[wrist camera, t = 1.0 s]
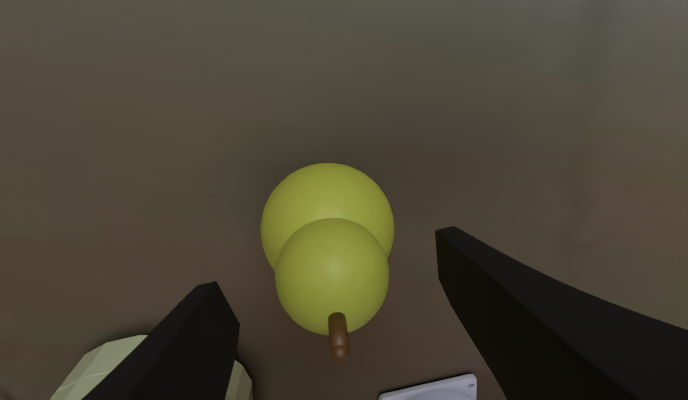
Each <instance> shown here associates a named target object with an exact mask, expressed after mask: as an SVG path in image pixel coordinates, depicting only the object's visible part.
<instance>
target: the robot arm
mask: <svg viewBox="0 0 688 400" xmlns="http://www.w3.org/2000/svg"><path fill="white" fill-rule="evenodd" d="M435 235H436V249H437V264H438V278H439V280H440V283H441V285H442V287H443V289H444V291H445V294H446V296H447V298H448V300H449V302H450V304H451V306H452V308H453V310H454V311H455V313H456V315H457V316H458V318H459V320H460V321H461V323H462V324H463V326H464V328H465V329H466V331H467V333H468V334H469V336H470V337H471V339H472V341H473V342H474V344H475V346H476V347H477V349H478V350H479V352H480V354H481V355H482V357H483V358H484V360H485V362H486V363H487V365H488V367H489V368H490V370H491V371H492V373H493V375H494V376H495V378H496V380H497V382H498V383H499V385H500V387H501V389H502V390H503V392H504V394H505V396H506V398H507V400H688V330H686V329H683V328H680V327H677V326H674V325H671V324H668V323H665V322H663V321H660V320H657V319H654V318H651V317H648V316H645V315H642V314H640V313H637V312H634V311H631V310H629V309H626V308H623V307H621V306H618V305H615V304H613V303H610V302H608V301H605V300H603V299H600V298H598V297H595V296H593V295H590V294H588V293H586V292H583V291H581V290H578V289H576V288H574V287H571V286H569V285H567V284H564V283H562V282H560V281H558V280H556V279H553V278H551V277H549V276H547V275H545V274H543V273H541V272H539V271H537V270H534V269H532V268H530V267H528V266H526V265H524V264H522V263H520V262H519V261H517V260H515V259H513V258H511V257H509V256H507V255H505V254H503V253H501V252H500V251H498V250H496V249H494V248H492V247H491V246H489V245H487V244H485V243H483V242H482V241H480V240H478V239H476V238H475V237H473V236H471V235H469V234H467V233H466V232H464V231H462V230H460V229H458V228H457V227H455V226H452V227H448V228H443V229H439V230H435ZM239 327H240V324H239V322H238V320H237V318H236V316H235V314H234V313H233V311H232V309H231V307H230V305H229V304H228V302H227V300H226V298H225V296H224V294H223V293H222V291H221V289H220V287H219V285H218V284H217V282H216V281H215V282H210V283H206V284H202V285H198V286H197V287H195V288H194V289H193V290H192V291H191V292H190V293H189V294H188V295H187V296H186V297H185V298H184V299H183V300H182V301H181V302H180V303H179V304H178V305H177V306H176V307H175V308H174V309H173V310H172V311H171V312H170V313H169V314H168V315H167V316H166V317H165V318H164V319H163V320H162V321H161V322H160V323H159V324H158V325H157V326H156V327H155V328H154V329H153V330H152V332H151V333H150V334H149V335H148V336H147V337H146V338H145V339H144V340H143V341H142V342H141V343H140V344H139V345H138V346H137V347H136V348H135V349H134V350H133V351H132V352H131V353H130V354H129V355H128V356H126V357H125V358H124V359H123V360H122V361H121V362H120V363H119V364H118V365H117V366H116V367H115V368H114V369H113V370H112V371H111V372H110V373H109V374H108V375H107V376H106V377H105V378H104V379H103V380H102V381H101V382H100V383H99V384H97V385H96V386H95V387H94V388H93V389H92V390H91V391H90V392H89V393H88V394H87V395H85V396H84V397H83V398H82V399H81V400H225V397H226V393H227V389H228V386H229V382H230V378H231V374H232V370H233V366H234V362H235V358H236V351H237V344H238V336H239ZM476 395H477V380H476V377H475V375H473V374H466V375H462V376H457V377H453V378H448V379H444V380H440V381H435V382H431V383H427V384H422V385H418V386H414V387H409V388H405V389H401V390H396V391H392V392H388V393H383V394H381V395H380V396H379V400H476Z"/></svg>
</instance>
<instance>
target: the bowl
mask: <svg viewBox="0 0 688 400" xmlns="http://www.w3.org/2000/svg"><path fill="white" fill-rule="evenodd" d="M147 336H148V335H137V336H132V337H128V338H124V339H119V340H115V341H111V342H106V343H105V344H103V345H101V346H99V347H97V348H96V349H94V350H92V351H90V352H88V353H86V354H85V355H84V356H83V357H82V359H81V360H80V361H79V363H78V364H77V365H76V367H75V368H74V369H73V370H72V372H71V373H70V374H69V376H68V377H67V378H66V379H65V381H64V382H63V383H62V385H61V386H60V387H59V388H58V390H57V391H56V392H55V394H54V395H53V396H52V397H51V399H50V400H81V399H82V398H83V397H84V396H85V395H87V394H88V393H89V392H90V391H91V390H92V389H93V388H94V387H95V386H96V385H97V384H99V383H100V382H101V381H102V380H103V379H104V378H105V377H106V376H107V375H108V374H109V373H110V372H111V371H112V370H113V369H114V368H115V367H116V366H117V365H118V364H119V363H120V362H121V361H122V360H123V359H124V358H125V357H126V356H128V355H129V354H130V353H131V352H132V351H133V350H134V349H135V348H136V347H137V346H138V345H139V344H140V343H141V342H142V341H143V340H144V339H145V338H146V337H147ZM252 398H253V393H252V380H251V379H250V377H249V375H248V374H247V372H246V370H245V369H244V367H243V366H242V365H241V364H240V363H239V362H237V361H236V360H235V362H234V366H233V370H232V374H231V378H230V382H229V386H228V389H227V393H226V397H225V400H252Z"/></svg>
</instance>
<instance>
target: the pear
mask: <svg viewBox="0 0 688 400" xmlns="http://www.w3.org/2000/svg"><path fill="white" fill-rule="evenodd" d="M393 239H394V220H393V215H392V210H391V208H390V205H389V203H388V200H387V198H386V196H385V195H384V193H383V192H382V190H381V189H380V188H379V186H378V185H377V184H376V183H375V182H374V181H373V180H372V179H371V178H369V177H368V176H367V175H365V174H364V173H362V172H361V171H359V170H357V169H355V168H352V167H350V166H347V165H342V164H337V163H319V164H313V165H309V166H306V167H303V168H301V169H299V170H297V171H295V172H293V173H292V174H290V175H289V176H287V177H286V178H285V179H284V180H283V181H282V182H281V183H280V184H279V185H278V186H277V187H276V188H275V189H274V191H273V192H272V193H271V195H270V197H269V199H268V201H267V203H266V205H265V208H264V211H263V214H262V220H261V241H262V246H263V249H264V252H265V255H266V258H267V260H268V262H269V264H270V265H271V267H272V268H273V270H274V271H275V284H276V291H277V294H278V297H279V300H280V302H281V304H282V306H283V308H284V310H285V311H286V312H287V314H288V315H289V316H290V317H291V318H292V319H293V320H294V321H295V322H296V323H297V324H298V325H300V326H301V327H303V328H305V329H306V330H309V331H311V332H314V333H317V334H322V335H329V347H330V356H331V358H332V360H333V361H334V362H336V363H339V364H341V363H344V362H346V361H347V360H348V358H349V356H350V347H349V339H348V333H349V332H352V331H354V330H356V329H358V328H360V327H362V326H363V325H365V324H366V323H367V322H369V321H370V320H371V319H372V318H373V317H374V316H375V314H376V313H377V312H378V310H379V309H380V307H381V305H382V304H383V302H384V299H385V297H386V294H387V290H388V285H389V267H388V262H387V259H388V256H389V254H390V251H391V249H392V245H393Z"/></svg>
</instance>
